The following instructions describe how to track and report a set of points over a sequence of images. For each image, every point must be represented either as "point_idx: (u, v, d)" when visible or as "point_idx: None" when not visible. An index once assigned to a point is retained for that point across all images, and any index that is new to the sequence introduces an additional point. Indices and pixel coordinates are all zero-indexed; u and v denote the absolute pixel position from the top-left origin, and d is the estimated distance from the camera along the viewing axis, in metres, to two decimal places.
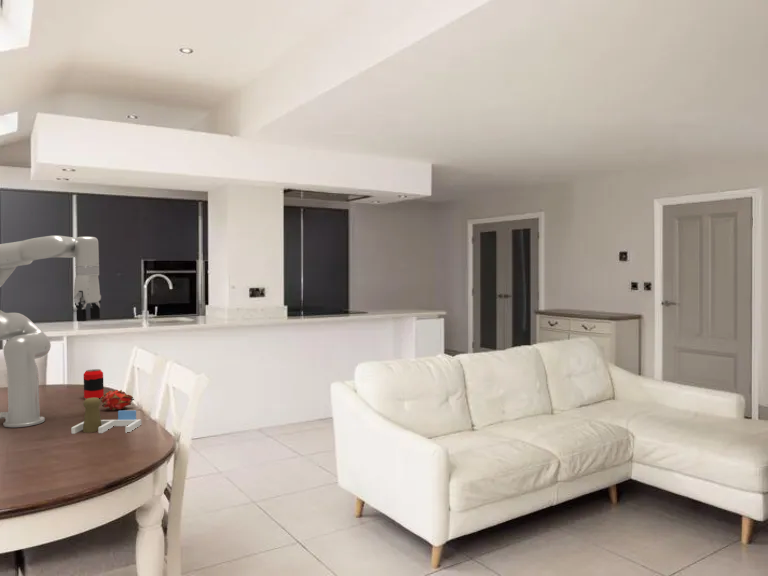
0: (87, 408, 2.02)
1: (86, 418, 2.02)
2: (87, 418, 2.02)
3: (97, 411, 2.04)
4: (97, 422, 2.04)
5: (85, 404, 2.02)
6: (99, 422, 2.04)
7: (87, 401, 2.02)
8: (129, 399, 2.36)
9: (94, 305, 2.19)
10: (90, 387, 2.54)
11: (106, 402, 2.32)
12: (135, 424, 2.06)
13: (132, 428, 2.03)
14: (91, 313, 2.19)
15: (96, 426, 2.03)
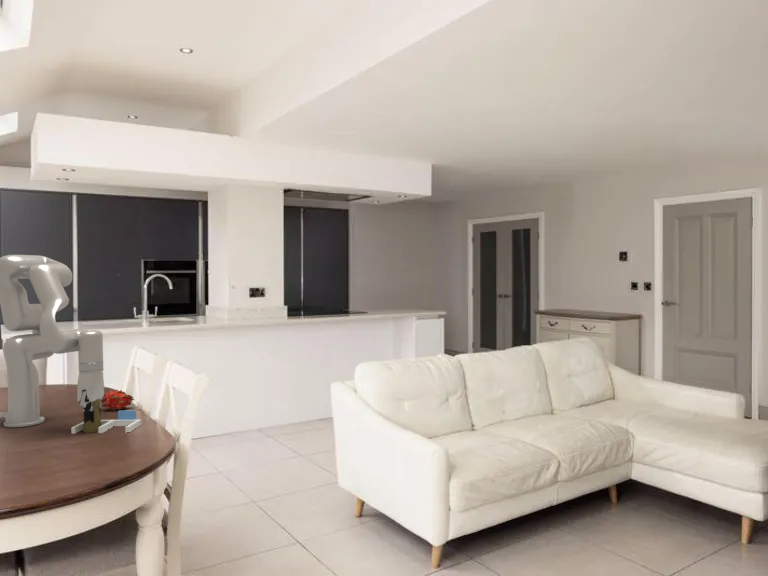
0: None
1: None
2: None
3: (97, 411, 2.04)
4: (97, 422, 2.03)
5: None
6: (99, 422, 2.04)
7: (87, 401, 2.02)
8: (129, 399, 2.36)
9: None
10: None
11: (106, 402, 2.32)
12: (135, 424, 2.06)
13: (132, 428, 2.03)
14: None
15: (96, 426, 2.03)
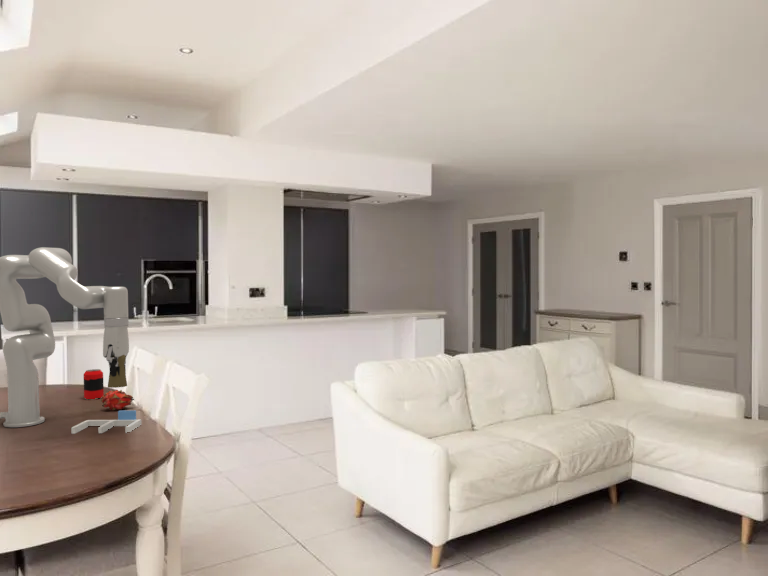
0: None
1: None
2: None
3: (122, 367, 2.03)
4: (122, 378, 2.03)
5: None
6: (124, 378, 2.03)
7: (113, 356, 2.02)
8: (129, 399, 2.36)
9: None
10: (90, 387, 2.54)
11: (106, 402, 2.32)
12: (135, 424, 2.06)
13: (132, 428, 2.03)
14: None
15: (121, 381, 2.02)
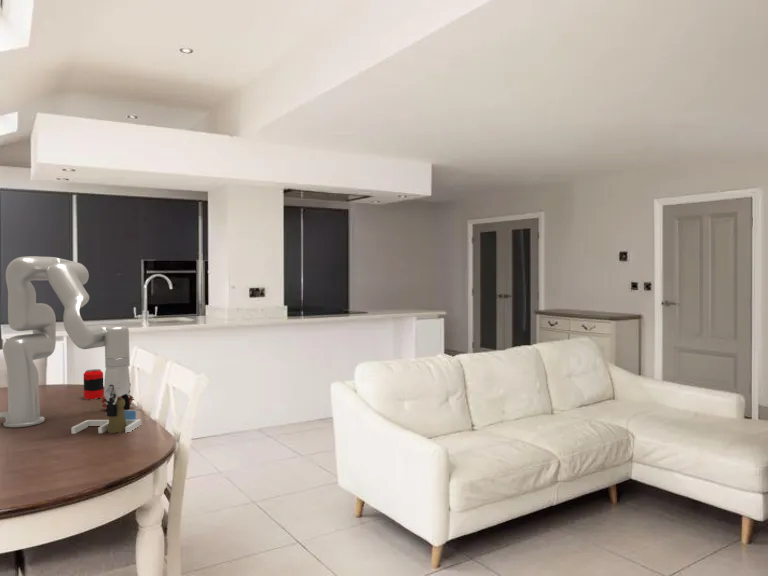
0: None
1: (111, 418, 2.01)
2: (112, 419, 2.01)
3: (122, 411, 2.03)
4: (122, 423, 2.02)
5: None
6: (124, 422, 2.03)
7: None
8: None
9: (124, 395, 2.09)
10: (90, 387, 2.54)
11: None
12: (135, 424, 2.06)
13: (132, 428, 2.03)
14: None
15: (121, 426, 2.02)
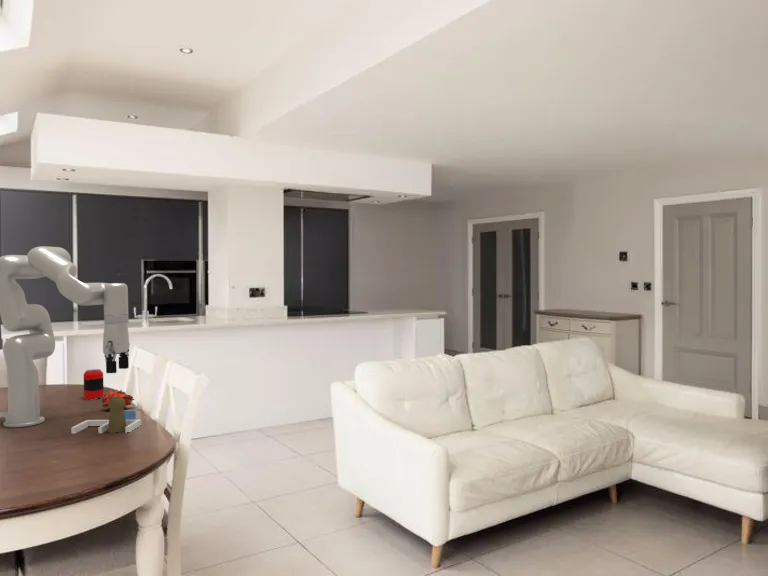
0: (112, 408, 2.01)
1: (111, 418, 2.01)
2: (112, 419, 2.01)
3: (122, 411, 2.03)
4: (122, 423, 2.02)
5: (110, 404, 2.01)
6: (124, 422, 2.03)
7: (112, 401, 2.01)
8: (129, 399, 2.36)
9: (122, 354, 2.09)
10: (90, 387, 2.54)
11: (106, 402, 2.32)
12: (135, 424, 2.06)
13: (132, 428, 2.03)
14: (119, 363, 2.08)
15: (121, 426, 2.02)
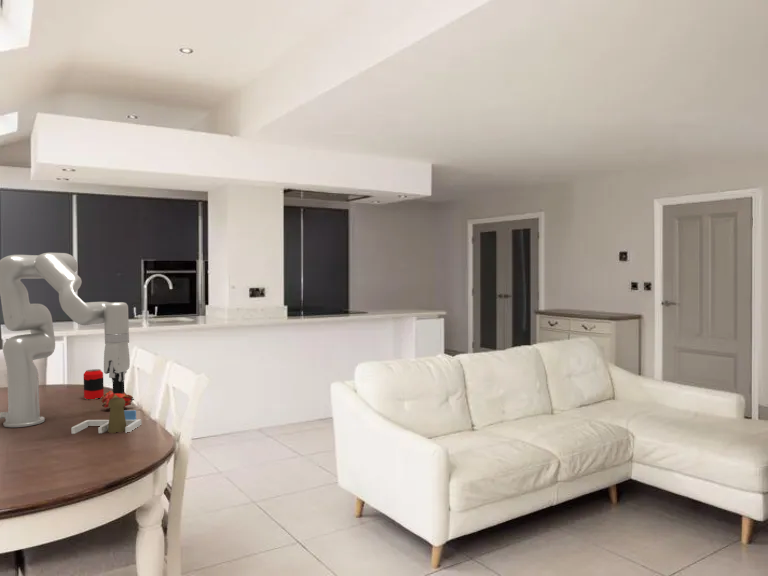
0: (112, 408, 2.01)
1: (111, 418, 2.01)
2: (112, 419, 2.01)
3: (122, 411, 2.03)
4: (122, 423, 2.02)
5: (110, 404, 2.01)
6: (124, 422, 2.03)
7: (112, 401, 2.01)
8: (129, 399, 2.36)
9: None
10: (90, 387, 2.54)
11: (106, 402, 2.32)
12: (135, 424, 2.06)
13: (132, 428, 2.03)
14: None
15: (121, 426, 2.02)
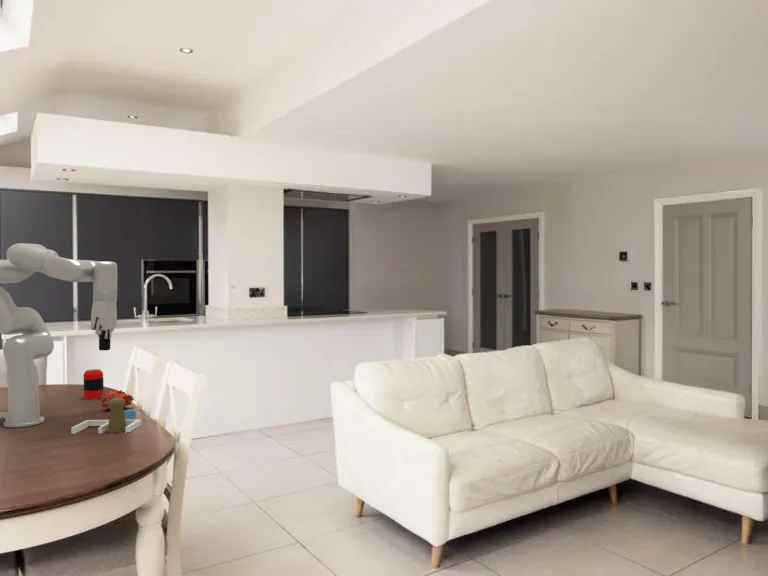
0: (112, 408, 2.01)
1: (111, 418, 2.01)
2: (112, 419, 2.01)
3: (122, 411, 2.03)
4: (122, 423, 2.02)
5: (110, 404, 2.01)
6: (124, 422, 2.03)
7: (112, 401, 2.01)
8: (129, 399, 2.36)
9: None
10: (90, 387, 2.54)
11: (106, 402, 2.32)
12: (135, 424, 2.06)
13: (132, 428, 2.03)
14: None
15: (121, 426, 2.02)
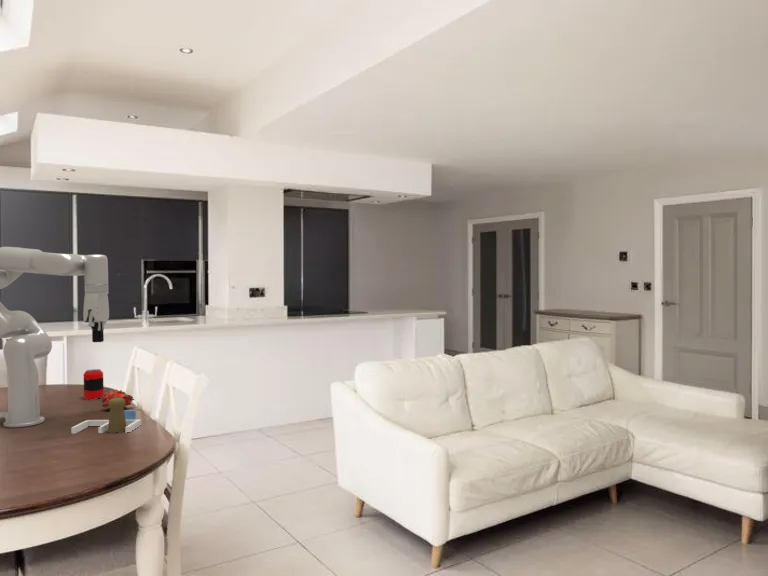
0: (112, 408, 2.01)
1: (111, 418, 2.01)
2: (112, 419, 2.01)
3: (122, 411, 2.03)
4: (122, 423, 2.02)
5: (110, 404, 2.01)
6: (124, 422, 2.03)
7: (112, 401, 2.01)
8: (129, 399, 2.36)
9: None
10: (90, 387, 2.54)
11: (106, 402, 2.32)
12: (135, 424, 2.06)
13: (132, 428, 2.03)
14: None
15: (121, 426, 2.02)
